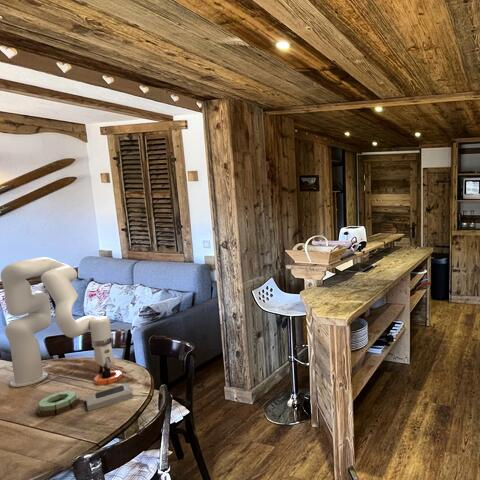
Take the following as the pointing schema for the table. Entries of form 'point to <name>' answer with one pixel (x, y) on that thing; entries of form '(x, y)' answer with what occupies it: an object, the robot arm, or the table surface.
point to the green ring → (68, 396)
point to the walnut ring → (58, 411)
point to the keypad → (108, 397)
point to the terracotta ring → (115, 374)
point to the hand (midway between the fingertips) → (105, 376)
